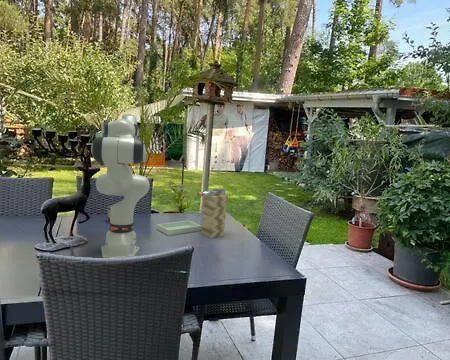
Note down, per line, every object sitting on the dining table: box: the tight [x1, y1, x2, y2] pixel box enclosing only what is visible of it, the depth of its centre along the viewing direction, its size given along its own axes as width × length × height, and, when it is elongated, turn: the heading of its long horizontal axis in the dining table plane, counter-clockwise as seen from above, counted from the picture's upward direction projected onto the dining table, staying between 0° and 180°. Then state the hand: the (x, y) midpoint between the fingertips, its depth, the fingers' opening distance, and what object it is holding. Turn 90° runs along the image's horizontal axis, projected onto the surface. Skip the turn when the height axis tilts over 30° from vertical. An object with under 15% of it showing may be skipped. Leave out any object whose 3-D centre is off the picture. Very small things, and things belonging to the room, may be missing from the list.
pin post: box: [200, 187, 228, 239], centre depth 225 cm, size 10×10×29 cm
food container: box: [106, 205, 113, 223], centre depth 234 cm, size 12×6×10 cm, turn 47°
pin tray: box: [156, 220, 202, 237], centre depth 229 cm, size 24×14×4 cm, turn 130°
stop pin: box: [196, 190, 218, 198], centre depth 220 cm, size 18×2×2 cm, turn 130°
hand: (127, 168), depth 205 cm, fingers open, 8 cm apart
